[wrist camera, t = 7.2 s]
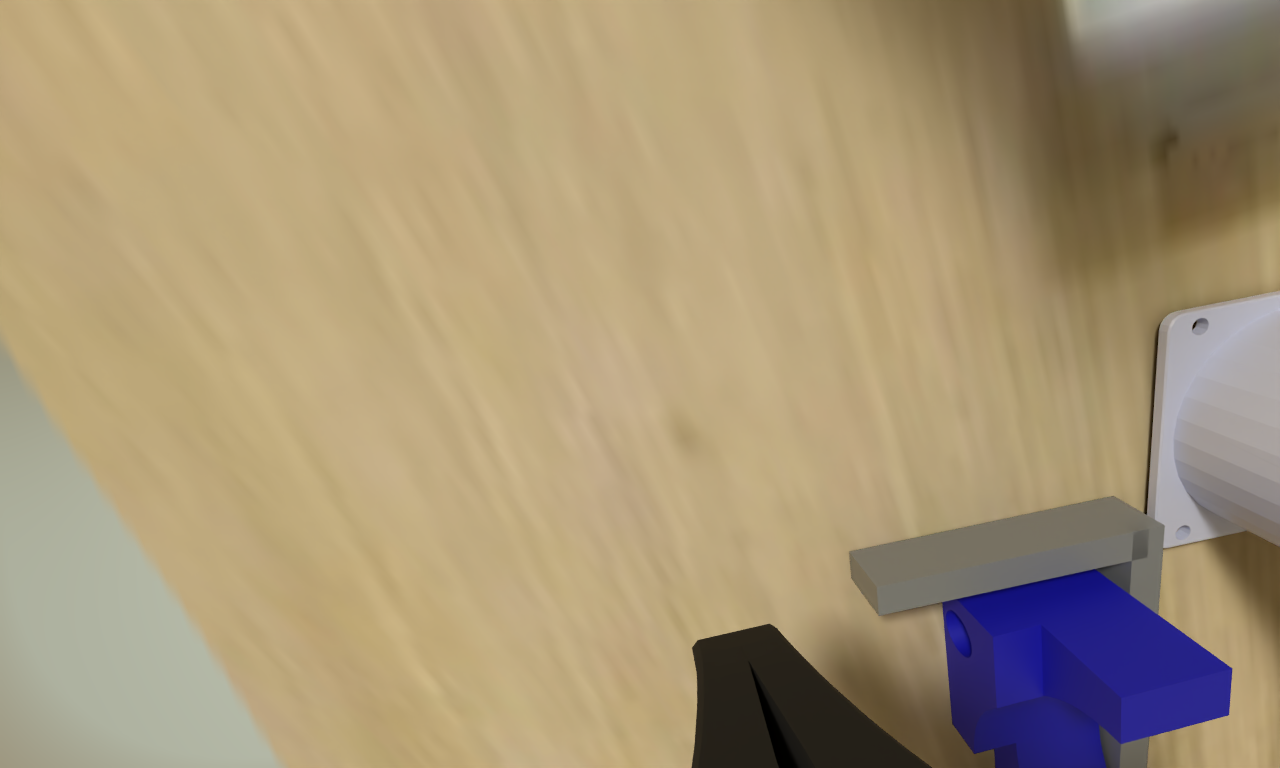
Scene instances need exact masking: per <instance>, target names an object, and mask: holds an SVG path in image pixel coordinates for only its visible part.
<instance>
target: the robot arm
mask: <svg viewBox="0 0 1280 768" xmlns="http://www.w3.org/2000/svg"><path fill="white" fill-rule="evenodd" d="M1196 320H1197V324H1196V327H1195V328H1194V329H1193V330H1192V326H1193V324H1194V322H1195V321H1196ZM1147 515H1148V516H1149V517H1151V518H1153V519H1155V520H1156V521H1158V522H1160V523H1162V524H1163V525H1165V530H1164V544H1163V548H1170V547H1175V546H1179V545H1184V544H1188V543H1193V542H1198V541H1202V540H1207V539H1211V538H1216V537H1221V536H1225V535H1230V534H1234V533H1239V532H1244V531H1249V532H1251V533H1253V534H1255V535H1257V536H1259V537H1261V538H1263V539H1265V540H1267V541H1269V542H1271V543H1273V544H1275V545H1277V546H1278V547H1280V291H1276V292H1271V293H1266V294H1261V295H1256V296H1251V297H1246V298H1241V299H1235V300H1230V301H1225V302H1220V303H1215V304H1210V305H1205V306H1200V307H1195V308H1190V309H1184V310H1179V311H1175V312H1172V313H1170V314H1169V315H1167V316H1166V317H1165V318H1164V319H1163V321H1162V323H1161V325H1160V329H1159V339H1158V354H1157V370H1156V385H1155V400H1154V416H1153V431H1152V446H1151V462H1150V477H1149V492H1148V508H1147ZM1177 530H1178V531H1177ZM1176 531H1177V532H1176ZM692 650H693V655H694V660H695V666H696V671H697V719H696V734H695V746H694V755H693V762H692V768H932V767H931V766H929V765H928V764H926V763H925V762H924V761H922V760H921V759H920V758H918V757H917V756H916V755H914V754H913V753H912V752H910V751H909V750H908V749H906V748H905V747H904V746H903V745H901V744H900V743H899V742H898V741H896V740H895V739H894V738H893V737H891V736H890V735H889V734H888V733H886V732H885V731H884V730H883V729H881V728H880V727H879V726H878V725H877V724H875V723H874V722H873V721H872V720H871V719H869V718H868V717H867V716H866V715H865V714H864V713H862V712H861V711H860V710H859V709H858V708H857V707H856V706H855V705H853V704H852V703H851V702H850V701H849V700H848V699H847V698H846V697H844V696H843V695H842V694H841V693H840V692H839V691H838V690H837V689H836V688H834V687H833V686H832V685H831V684H830V683H829V682H828V681H827V680H826V679H825V678H824V677H823V676H822V675H821V674H820V673H819V672H818V671H817V670H816V669H815V668H814V667H813V666H812V665H811V664H810V663H809V662H808V661H807V660H806V659H805V658H804V657H803V656H802V655H801V654H800V653H799V652H798V651H797V650H796V649H795V648H794V647H793V646H792V645H791V644H790V643H789V642H788V640H787V639H786V638H785V637H784V636H783V635H782V634H781V633H780V632H779V630H778V629H777V628H775V627H774V626H772V625H771V624H766V625H762V626H758V627H753V628H749V629H745V630H740V631H736V632H732V633H727V634H723V635H718V636H714V637H710V638H705V639H701V640H698V641H697V642H696V643H695V645H694V646H693V647H692Z"/></svg>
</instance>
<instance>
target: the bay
mask: <svg viewBox="0 0 1280 768" xmlns="http://www.w3.org/2000/svg"><path fill="white" fill-rule="evenodd" d="M1164 530H1165V525H1163V524H1162V523H1160V522H1158V521H1156V520H1155V519H1153V518H1151V517H1149V516H1148V515H1146V514H1144V513H1142V512H1141V511H1139V510H1137V509H1135V508H1134V507H1132V506H1130V505H1128V504H1127V503H1125V502H1123V501H1121V500H1120V499H1118V498H1116V497H1114V496H1111V497H1106V498H1102V499H1097V500H1092V501H1088V502H1083V503H1078V504H1073V505H1069V506H1064V507H1059V508H1054V509H1050V510H1045V511H1040V512H1035V513H1031V514H1026V515H1021V516H1017V517H1012V518H1007V519H1002V520H998V521H993V522H988V523H983V524H979V525H974V526H969V527H964V528H960V529H955V530H950V531H945V532H941V533H936V534H931V535H927V536H922V537H917V538H912V539H908V540H903V541H898V542H893V543H889V544H884V545H879V546H874V547H870V548H865V549H860V550H856V551H851V552H849V554H850V566H851V578H852V580H853V581H854V583H855V584H856V585H857V587H858V588H859V589H860V591H861V592H862V593H863V595H864V596H865V598H866V599H867V600H868V602H869V603H870V604H871V606H872V607H873V609H874V610H875V611H876V613H877V614H878V615H879V616H880V615H885V614H890V613H894V612H899V611H903V610H908V609H913V608H917V607H922V606H926V605H931V604H936V603H940V602H945V601H949V600H954V599H959V598H963V597H968V596H972V595H977V594H982V593H986V592H991V591H995V590H1000V589H1005V588H1009V587H1014V586H1018V585H1023V584H1028V583H1032V582H1037V581H1041V580H1046V579H1051V578H1055V577H1060V576H1064V575H1069V574H1074V573H1078V572H1083V571H1087V570H1092V569H1095V570H1097V571H1098V572H1100V573H1101V574H1102V575H1104V576H1105V577H1106V578H1108V579H1109V580H1111V581H1112V582H1113V583H1115V584H1116V585H1117V586H1119V587H1120V588H1122V589H1123V590H1124V591H1126V592H1127V593H1128V594H1130V595H1131V596H1133V597H1134V598H1135V599H1137V600H1138V601H1140V602H1141V603H1142V604H1144V605H1145V606H1146V607H1148V608H1149V609H1151V610H1152V611H1153V612H1155V613H1156V614H1157V615H1158V611H1159V597H1160V584H1161V570H1162V557H1163V544H1164ZM1099 731H1100V740H1101V746H1102V752H1103V756H1104V760H1105V764H1106V767H1107V768H1147V758H1148V745H1149V737H1146V738H1142V739H1139V740H1135V741H1131V742H1127V743H1124V744H1120V743H1119V742H1118V741H1117V740H1116V739H1115V738H1114V737H1113V736H1112V735H1110V734H1109V733H1108V732H1107V731H1106V730H1105V729H1104V728H1103V727H1101V726H1100V725H1099Z"/></svg>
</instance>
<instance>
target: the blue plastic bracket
mask: <svg viewBox="0 0 1280 768" xmlns="http://www.w3.org/2000/svg"><path fill="white" fill-rule="evenodd" d="M942 604H943V616H944V628H945V641H946V653H947V665H948V677H949V689H950V701H951V713H952V724H953V725H954V727H955V728H956V729H957V731H958V732H959V733H960V735H961V736H962V738H963V739H964V740H965V742H966V743H967V744H968V746H969V747H970V749H971V750H972V751H973V753H974V754H976V753H980V752H983V751H987V750H991V749H994V752H995V768H1107V767H1106V764H1105V760H1104V756H1103V752H1102V746H1101V740H1100V731H1099V725H1100V726H1101V727H1103V728H1104V729H1105V730H1106V731H1107V732H1108V733H1109V734H1110V735H1112V736H1113V737H1114V738H1115V739H1116V740H1117V741H1118V742H1119V743H1120V744H1124V743H1127V742H1131V741H1135V740H1139V739H1142V738H1146V737H1150V736H1153V735H1157V734H1161V733H1164V732H1168V731H1172V730H1176V729H1179V728H1183V727H1187V726H1190V725H1194V724H1198V723H1202V722H1205V721H1209V720H1213V719H1216V718H1220V717H1224V716H1228V715H1229V707H1230V693H1231V680H1232V668H1231V667H1229V666H1228V665H1227V664H1225V663H1224V662H1222V661H1221V660H1220V659H1218V658H1217V657H1215V656H1214V655H1213V654H1211V653H1210V652H1209V651H1207V650H1206V649H1204V648H1203V647H1202V646H1200V645H1199V644H1198V643H1196V642H1195V641H1193V640H1192V639H1191V638H1189V637H1188V636H1186V635H1185V634H1184V633H1182V632H1181V631H1180V630H1178V629H1177V628H1175V627H1174V626H1173V625H1171V624H1170V623H1169V622H1167V621H1166V620H1164V619H1163V618H1162V617H1160V616H1159V615H1157V614H1156V613H1155V612H1153V611H1152V610H1151V609H1149V608H1148V607H1146V606H1145V605H1144V604H1142V603H1141V602H1140V601H1138V600H1137V599H1135V598H1134V597H1133V596H1131V595H1130V594H1128V593H1127V592H1126V591H1124V590H1123V589H1122V588H1120V587H1119V586H1117V585H1116V584H1115V583H1113V582H1112V581H1111V580H1109V579H1108V578H1106V577H1105V576H1104V575H1102V574H1101V573H1100V572H1098V571H1097V570H1095V569H1092V570H1087V571H1083V572H1078V573H1074V574H1069V575H1064V576H1060V577H1055V578H1051V579H1046V580H1041V581H1037V582H1032V583H1028V584H1023V585H1018V586H1014V587H1009V588H1005V589H1000V590H995V591H991V592H986V593H982V594H977V595H972V596H968V597H963V598H959V599H954V600H949V601H945V602H942Z"/></svg>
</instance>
